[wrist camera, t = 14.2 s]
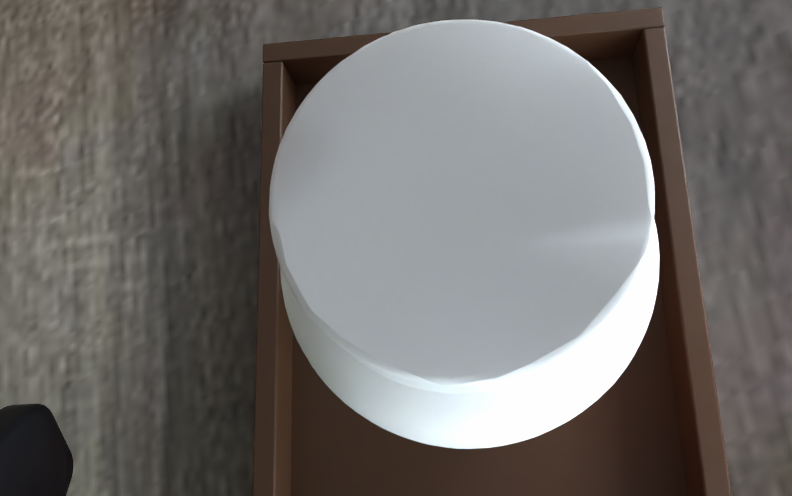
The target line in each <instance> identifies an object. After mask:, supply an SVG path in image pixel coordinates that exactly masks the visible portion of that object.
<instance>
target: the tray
mask: <svg viewBox="0 0 792 496" xmlns="http://www.w3.org/2000/svg"><path fill="white" fill-rule="evenodd" d="M499 23H506V24H510V25H514V26H519V27H523V28H525V29H529V30H532V31H534V32H537V33H539V34H541V35H544V36H546V37H549V38H551V39H553V40H555V41H557V42H558V43H560V44H562V45H564V46H566V47H568V48H569V49H571V50H572V51H574V52H575V53H577V54H578V55H580V56H581V57H582V58H584V59H585V60H587V61H588V62H589V63H590V64H591V65H592V66H594V67H595V68H596V69H597V70H598V71H599V72H600V73H601V74H602V75H603V76H604V77H605V78H606V79H607V80H608V81H609V82H610V83H611V84H612V86H613V87H614V88H615V89H616V90H617V91H618V92H619V93H620V95H621V96H622V98H623V99H624V101H625V103H626V104H627V106H628V107H629V109H630V111H631V112H632V114H633V115H634V118H635V120H636V122H637V124H638V126H639V129H640V131H641V133H642V135H643V138H644V140H645V143H646V146H647V150H648V153H649V157H650V160H651V166H652V172H653V178H654V192H655V214H654V220H655V224H656V229H657V235H658V242H659V253H660V258H659V281H658V288H657V295H656V300H655V304H654V309H653V313H652V316H651V319H650V322H649V325H648V327H647V330H646V333H645V335H644V337H643V339H642V341H641V343H640V345H639V347H638V349H637V351H636V353H635V355H634V356H633V358H632V360H631V361H630V363H629V364H628V366H627V368H626V369H625V370H624V371H623V373H622V374H621V375H620V377H619V378H618V379H617V380H616V382H615V383H614V384H613V385H612V386H611V387H610V388H609V389H608V390H607V391H606V392H605V393H604V394H603V395H602V396H601V397H600V398H599V399H598V400H597V401H595V402H594V403H593V404H592V405H590V406H589V407H588V408H587V409H585V410H584V411H583V412H581V413H580V414H578V415H577V416H575V417H574V418H573V419H571V420H570V421H568V422H566V423H564V424H562V425H560V426H558V427H556V428H554V429H552V430H551V431H548V432H546V433H544V434H542V435H539V436H537V437H534V438H531V439H528V440H524V441H521V442H517V443H513V444H509V445H504V446H498V447H492V448H478V449H455V448H445V447H438V446H432V445H428V444H424V443H420V442H417V441H413V440H410V439H407V438H404V437H401V436H399V435H397V434H394V433H392V432H390V431H388V430H385V429H383V428H381V427H379V426H378V425H376V424H374V423H372V422H371V421H369V420H368V419H366V418H365V417H363V416H361V415H360V414H358V413H357V412H356V411H354V410H353V409H352V408H350V407H349V406H348V405H346V404H345V403H344V402H343V401H342V400H341V399H340V398H339V397H338V396H337V395H336V394H335V393H333V392H332V391H331V389H330V388H329V387H328V386H327V385H326V384H325V383H324V382H323V380H322V379H321V378H320V377H319V375H318V374H317V373H316V371H315V370H314V368H313V367H312V366H311V364H310V362H309V360H308V359H307V357H306V355H305V354H304V352H303V351H302V349H301V347H300V345H299V343H298V341H297V339H296V337H295V334H294V332H293V329H292V327H291V324H290V321H289V318H288V314H287V311H286V307H285V303H284V297H283V292H282V286H281V275H280V264H279V261H278V258H277V255H276V252H275V248H274V244H273V239H272V234H271V228H270V219H269V197H270V184H271V177H272V171H273V166H274V162H275V158H276V154H277V151H278V148H279V145H280V142H281V140H282V138H283V136H284V133H285V131H286V128H287V126H288V125H289V123H290V121H291V120H292V118H293V116H294V114H295V112H296V111H297V109H298V108H299V106H300V105H301V103H302V102H303V101H304V99H305V98H306V96H307V95H308V94H309V93H310V91H311V90H312V89H313V88H314V87H315V85H316V84H317V83H318V82H319V81H320V80H321V79H322V78H323V77H324V76H325V75H326V74H327V73H328V72H329V71H330V70H331V69H333V68H334V67H335V66H336V65H338V64H339V63H340V62H341V61H343V60H344V59H346V58H347V57H349V56H350V55H352V54H353V53H355V52H356V51H358V50H359V49H361V48H362V47H363V46H365V45H367V44H369V43H371V42H373V41H375V40H377V39H379V38H381V37H383V36H386V35H389V34H391V33H392V32H390V33H379V34H368V35H358V36H347V37H336V38H325V39H315V40H304V41H293V42H282V43H271V44H264V45H263V63H264V64H263V91H262V130H261V169H260V209H259V248H258V288H257V327H256V366H255V406H254V445H253V484H252V496H732V495H731V488H730V481H729V474H728V467H727V460H726V453H725V446H724V439H723V432H722V425H721V418H720V411H719V404H718V397H717V390H716V383H715V376H714V369H713V362H712V355H711V348H710V341H709V334H708V327H707V320H706V313H705V306H704V299H703V292H702V285H701V278H700V271H699V264H698V257H697V249H696V242H695V235H694V228H693V221H692V214H691V207H690V200H689V193H688V186H687V179H686V172H685V165H684V158H683V151H682V144H681V137H680V130H679V123H678V116H677V109H676V102H675V95H674V88H673V81H672V74H671V67H670V60H669V53H668V46H667V39H666V32H665V28H664V26H665V23H664V16H663V9H662V8H661V7H660V8H649V9H638V10H627V11H617V12H606V13H595V14H584V15H573V16H563V17H552V18H541V19H530V20H520V21H509V22H499Z"/></svg>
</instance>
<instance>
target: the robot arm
mask: <svg viewBox="0 0 792 496" xmlns="http://www.w3.org/2000/svg"><path fill="white" fill-rule="evenodd" d="M72 473H73V458H72V454H71V451H70V449H69V447H68V445H67V443H66V441H65V439H64V437H63V435H62V433H61V431H60V429H59V427H58V425H57V423H56V420H55V418H54V416H53V414H52V413H51V411H50V410H49V409H48V408H47V407H46V406H44V405H41V404H23V405H11V406H7V407H4V408H3V409H1V410H0V496H66V494H67V491H68V488H69V484H70V481H71V478H72Z"/></svg>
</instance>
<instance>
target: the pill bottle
mask: <svg viewBox="0 0 792 496" xmlns="http://www.w3.org/2000/svg"><path fill="white" fill-rule="evenodd" d="M654 214H655V192H654V178H653V172H652V166H651V160H650V157H649V153H648V150H647V146H646V143H645V140H644V138H643V135H642V133H641V131H640V129H639V126H638V124H637V122H636V120H635V118H634V115H633V114H632V112H631V111H630V109H629V107H628V106H627V104H626V103H625V101H624V99H623V98H622V96H621V95H620V93H619V92H618V91H617V90H616V89H615V88H614V87H613V86H612V84H611V83H610V82H609V81H608V80H607V79H606V78H605V77H604V76H603V75H602V74H601V73H600V72H599V71H598V70H597V69H596V68H595V67H594V66H592V65H591V64H590V63H589V62H588V61H587V60H585V59H584V58H582V57H581V56H580V55H578V54H577V53H575V52H574V51H572V50H571V49H569V48H568V47H566V46H564V45H562V44H560V43H558V42H557V41H555V40H553V39H551V38H549V37H546V36H544V35H541V34H539V33H537V32H534V31H532V30H529V29H525V28H523V27H519V26H514V25H510V24H506V23H499V22H493V21H484V20H445V21H437V22H430V23H425V24H420V25H415V26H411V27H408V28H406V29H403V30H399V31H395V32H392V33H391V34H389V35H386V36H383V37H381V38H379V39H377V40H375V41H373V42H371V43H369V44H367V45H365V46H363V47H362V48H361V49H359V50H358V51H356V52H355V53H353V54H352V55H350V56H349V57H347V58H346V59H344V60H343V61H341V62H340V63H339V64H338V65H336V66H335V67H334V68H333V69H331V70H330V71H329V72H328V73H327V74H326V75H325V76H324V77H323V78H322V79H321V80H320V81H319V82H318V83H317V84H316V85H315V87H314V88H313V89H312V90H311V91H310V93H309V94H308V95H307V96H306V98H305V99H304V101H303V102H302V103H301V105H300V106H299V108H298V109H297V111H296V112H295V114H294V116H293V118H292V120H291V121H290V123H289V125H288V126H287V128H286V131H285V133H284V136H283V138H282V140H281V142H280V145H279V148H278V151H277V154H276V158H275V162H274V166H273V171H272V177H271V184H270V197H269V219H270V228H271V234H272V239H273V244H274V248H275V252H276V255H277V258H278V261H279V264H280V275H281V286H282V292H283V297H284V303H285V307H286V311H287V314H288V318H289V321H290V324H291V327H292V329H293V332H294V334H295V337H296V339H297V341H298V343H299V345H300V347H301V349H302V351H303V352H304V354H305V355H306V357H307V359H308V360H309V362H310V364H311V366H312V367H313V368H314V370H315V371H316V373H317V374H318V375H319V377H320V378H321V379H322V380H323V382H324V383H325V384H326V385H327V386H328V387H329V388H330V389H331V391H332V392H333V393H335V394H336V395H337V396H338V397H339V398H340V399H341V400H342V401H343V402H344V403H345V404H346V405H348V406H349V407H350V408H352V409H353V410H354V411H356V412H357V413H358V414H360V415H361V416H363V417H365V418H366V419H368V420H369V421H371V422H372V423H374V424H376V425H378V426H379V427H381V428H383V429H385V430H388V431H390V432H392V433H394V434H397V435H399V436H401V437H404V438H407V439H410V440H413V441H417V442H420V443H424V444H428V445H432V446H438V447H445V448H455V449H478V448H492V447H498V446H504V445H509V444H513V443H517V442H521V441H524V440H528V439H531V438H534V437H537V436H539V435H542V434H544V433H546V432H548V431H551V430H552V429H554V428H556V427H558V426H560V425H562V424H564V423H566V422H568V421H570V420H571V419H573V418H574V417H575V416H577V415H578V414H580V413H581V412H583V411H584V410H585V409H587V408H588V407H589V406H590V405H592V404H593V403H594V402H595V401H597V400H598V399H599V398H600V397H601V396H602V395H603V394H604V393H605V392H606V391H607V390H608V389H609V388H610V387H611V386H612V385H613V384H614V383H615V382H616V380H617V379H618V378H619V377H620V375H621V374H622V373H623V371H624V370H625V369H626V368H627V366H628V364H629V363H630V361H631V360H632V358H633V356H634V355H635V353H636V351H637V349H638V347H639V345H640V343H641V341H642V339H643V337H644V335H645V333H646V330H647V327H648V325H649V322H650V319H651V316H652V313H653V309H654V304H655V300H656V295H657V288H658V281H659V258H660V253H659V242H658V235H657V229H656V224H655V220H654Z"/></svg>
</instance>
